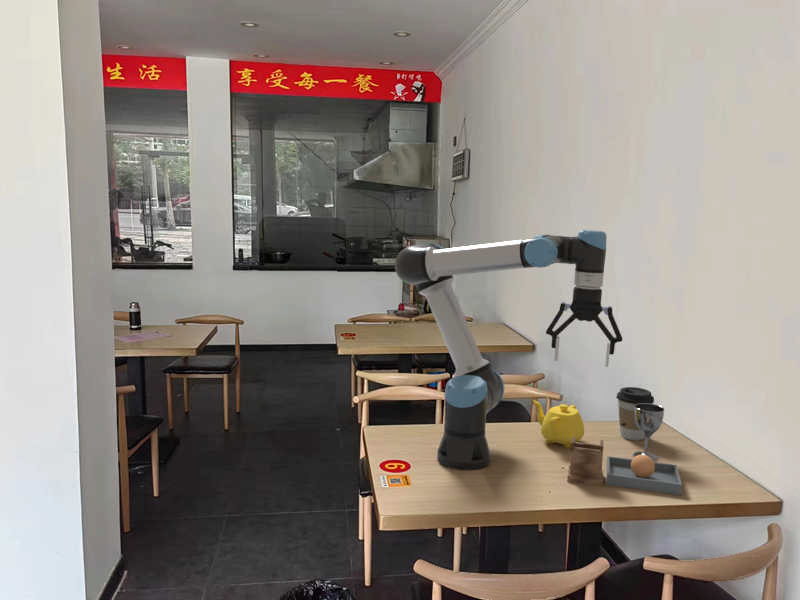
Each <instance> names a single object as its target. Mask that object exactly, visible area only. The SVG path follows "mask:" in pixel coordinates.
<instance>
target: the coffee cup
mask: <svg viewBox="0 0 800 600" xmlns="http://www.w3.org/2000/svg"><path fill="white" fill-rule="evenodd" d="M615 397H616V399H617V405H618V419H619V432H620V437H622V438H624V439H625V438H626V440H629V441H642V440H645V438H644V435H643V433H642V432H641V431H640V429H639V428H638V427H637V425H636V422H635V414H634V412H635V405H636V404H638V403H650V404H655V398H654V396H653V395H652V391H650V390H648V389H645V388H641V387H634V386H627V387H622V388H620V389H619V391H618V392H617V394H616V396H615Z"/></svg>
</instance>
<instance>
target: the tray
mask: <svg viewBox="0 0 800 600" xmlns="http://www.w3.org/2000/svg"><path fill="white" fill-rule="evenodd" d="M632 459H633V458H624V457H617V456H609V455H607V456H606V465H605V466H606V485H609V486H616V487H621V488H626V489H627V488H629V489H635V490H641V491H650V492H655V493H656V492H657V493H664V494H671V495H678V496H682V489H683V483H682V480H681V477H680V474H679V469H678V466H677V464H671V463H663V462H656V461H653V462H654V465H655V470H654V472H653V474H652V475H651V476H649V477H647V478H641V477H638V476H637V475H635V474H634V473H633V471H632V469H631V461H632Z"/></svg>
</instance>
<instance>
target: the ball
mask: <svg viewBox="0 0 800 600" xmlns="http://www.w3.org/2000/svg"><path fill="white" fill-rule="evenodd" d="M631 459H632V461H631V469H632V471H633V473H634V474H635V475H637V476H638V477H641V478H647V477H649V476H651V475H652V474H653V472H654V470H655V465H654V462H655V461H653V460H652V459H651V458H650V457H648V456H646V455H637V456H635V457H634V456H633V458H631Z"/></svg>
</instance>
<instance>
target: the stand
mask: <svg viewBox="0 0 800 600" xmlns="http://www.w3.org/2000/svg"><path fill="white" fill-rule="evenodd" d="M570 449H571V451H570V464H569V465H568V470H567V471H568V472H567V478H566V479H567V481H566V482H571V483H575V484H577V483H578V484H583V485H584V484H585V485H591V486H597V487H604V470H603V458H604V457H603V456H604V440H601V439H600V444H595V443H587V442H585V443H584V442H580V441H578V442H575V437H572V444H571V448H570Z"/></svg>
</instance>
